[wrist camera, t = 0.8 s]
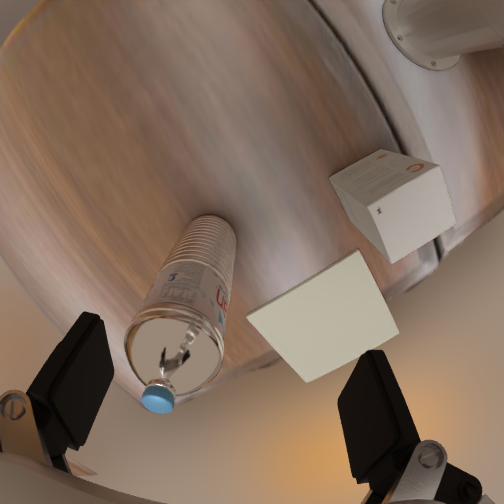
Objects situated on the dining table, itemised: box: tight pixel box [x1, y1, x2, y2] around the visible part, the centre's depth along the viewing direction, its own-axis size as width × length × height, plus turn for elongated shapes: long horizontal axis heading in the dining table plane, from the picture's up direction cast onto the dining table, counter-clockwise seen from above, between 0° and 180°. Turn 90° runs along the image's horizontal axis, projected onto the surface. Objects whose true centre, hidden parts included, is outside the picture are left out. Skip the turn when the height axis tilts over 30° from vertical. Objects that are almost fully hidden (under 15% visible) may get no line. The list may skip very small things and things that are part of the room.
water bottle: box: [124, 215, 237, 414], centre depth 26 cm, size 7×7×25 cm
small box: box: [329, 149, 456, 264], centre depth 28 cm, size 8×6×13 cm
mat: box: [246, 249, 399, 383], centre depth 42 cm, size 18×18×1 cm
